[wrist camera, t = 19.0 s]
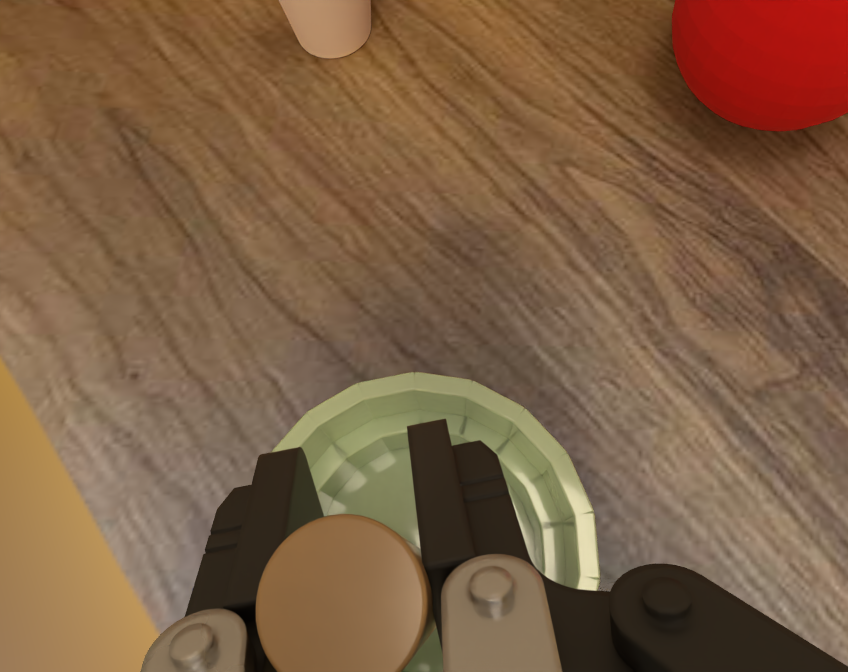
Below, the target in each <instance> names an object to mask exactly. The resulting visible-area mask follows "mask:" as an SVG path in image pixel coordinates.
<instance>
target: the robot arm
mask: <svg viewBox="0 0 848 672" xmlns="http://www.w3.org/2000/svg"><path fill="white" fill-rule="evenodd" d="M407 433H408V442H409V451H410V460H411V469H412V477H413V486H414V495H415V504H416V513H417V522H418V531H419V540H420V549H421V558H422V563H423V566H424V568H425V571H426V573H427V575H428V579H429V582H430V586H431V591H432V598H433V615H434V619H435V623H436V627H437V632H438V636H439V640H440V645H441V649H442V653H443V672H848V667H847V666H846V665H844V664H843V663H841V662H839V661H838V660H836V659H835V658H833V657H831V656H830V655H828V654H827V653H825V652H823V651H822V650H820V649H819V648H817V647H816V646H814V645H812V644H811V643H809V642H808V641H806V640H804V639H803V638H801V637H800V636H798V635H796V634H795V633H793V632H792V631H790V630H788V629H787V628H785V627H784V626H782V625H780V624H779V623H777V622H776V621H774V620H772V619H771V618H769V617H768V616H766V615H764V614H763V613H761V612H760V611H758V610H756V609H755V608H753V607H752V606H750V605H748V604H747V603H745V602H744V601H742V600H740V599H739V598H737V597H736V596H734V595H732V594H731V593H729V592H728V591H726V590H724V589H723V588H721V587H720V586H718V585H716V584H715V583H713V582H712V581H710V580H708V579H707V578H705V577H704V576H702V575H700V574H698V573H696V572H694V571H692V570H690V569H687V568H684V567H680V566H676V565H670V564H649V565H644V566H640V567H637V568H634V569H632V570H630V571H628V572H626V573H625V574H623V575H622V576H621V577H620V578H619V579H618V580H617V581H616V582H615V584H614V585H613V587H612V589H611V592H608V591H594V590H583V589H575V588H571V587H567V586H564V585H561V584H559V583H556V582H554V581H553V580H551V579H549V578H547V577H546V576H545V575H543V574H542V573H541V572H540V571H539V570H538V569H537V568H536V567H535V565H534V564H533V562H532V561H531V558H530V556H529V553H528V550H527V547H526V544H525V541H524V538H523V534H522V531H521V528H520V525H519V522H518V519H517V515H516V512H515V509H514V506H513V503H512V500H511V497H510V494H509V490H508V487H507V484H506V481H505V478H504V475H503V471H502V468H501V465H500V462H499V459H498V455H497V454H496V453H495V452H494V451H492V450H491V449H490V448H489V447H488V446H487V445H486V444H484V443H483V442H482V441H481V440H478V441H473V442H468V443H463V444H458V445H452V444H451V439H450V435H449V430H448V425H447V421H446V419H440V420H435V421H430V422H425V423H420V424H415V425H410V426H407ZM322 517H324V515H323V511H322V508H321V504H320V501H319V498H318V494H317V491H316V488H315V485H314V481H313V478H312V475H311V471H310V468H309V465H308V461H307V458H306V455H305V453H304V451H303V449H302V448H301V447H297V448H292V449H287V450H281V451H276V452H271V453H266V454H261V455H260V456H259V457H258V461H257V465H256V469H255V473H254V477H253V481H252V485H248V486H243V487H237V488H234V489H233V490H232V492H231V493H230V494H229V495H228V497H227V498H226V499H225V500H224V501H223V503H222V504H221V505H220V506H219V508H218V509H217V511H216V515H215V518H214V521H213V525H212V528H211V535H210V536H209V538H208V541H207V545H206V548H205V552H206V554H204V555H203V558H202V561H201V565H200V568H199V571H198V575H197V578H196V581H195V584H194V588H193V591H192V594H191V598H190V601H189V604H188V608H187V611H186V614H185V617H184V618H182V619H181V620H179V621H177V622H176V623H174V624H173V625H171V626H170V627H169V628H167V629H166V630H165V631H164V632H163V633H162V634H161V635H160V636H159V637H158V638H157V639H156V640H155V642H154V643H153V644H152V646H151V647H150V648H149V650H148V652H147V654H146V656H145V659H144V661H143V665H142V669H141V672H277V671H276V670H275V669H274V667H273V666H272V665H271V663H270V661H269V660H268V658H267V656H266V654H265V652H264V650H263V647H262V645H261V642H260V638H259V635H258V631H257V624H256V597H257V592H258V587H259V583H260V580H261V577H262V574H263V572H264V569H265V567H266V565H267V563H268V561H269V560H270V558H271V557H272V555H273V553H274V552H275V551H276V549H277V548H278V547H279V546H280V544H281V543H282V542H283V541H284V540H285V539H286V538H287V537H288V536H289V535H290V534H292V533H293V532H294V531H296V530H297V529H298V528H300V527H302V526H303V525H305V524H307V523H309V522H311V521H314V520H316V519H318V518H322Z"/></svg>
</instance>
